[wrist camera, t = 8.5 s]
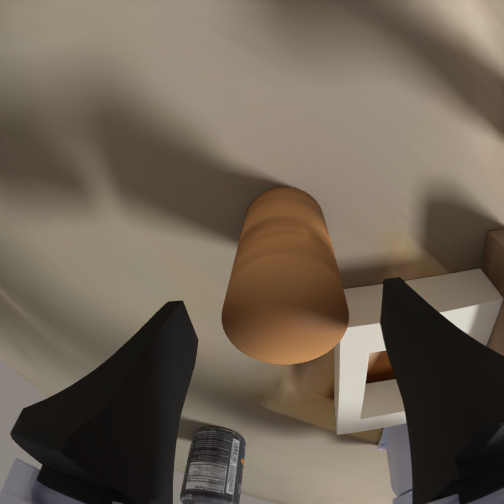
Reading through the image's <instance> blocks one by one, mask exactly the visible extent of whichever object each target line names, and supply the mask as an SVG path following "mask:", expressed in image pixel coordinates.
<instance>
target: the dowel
mask: <svg viewBox="0 0 504 504" xmlns="http://www.w3.org/2000/svg"><path fill="white" fill-rule="evenodd" d="M348 323H349V309H348V305H347V301H346V297H345V293H344V289H343V285H342V281H341V277H340V273H339V269H338V266H337V262H336V258H335V254H334V251H333V247H332V244H331V240H330V237H329V233H328V230H327V226H326V223H325V219H324V216H323V213H322V210H321V208H320V206H319V204H318V203H317V201H316V200H315V199H314V198H313V197H312V196H310V195H309V194H308V193H306V192H304V191H302V190H300V189H297V188H293V187H277V188H272V189H269V190H267V191H265V192H263V193H262V194H260V195H259V196H258V197H256V198H255V200H254V201H253V202H252V203H251V205H250V206H249V208H248V210H247V214H246V217H245V221H244V225H243V229H242V233H241V237H240V241H239V245H238V249H237V253H236V257H235V261H234V265H233V269H232V273H231V277H230V281H229V285H228V289H227V293H226V297H225V301H224V305H223V309H222V325H223V329H224V331H225V334H226V335H227V337H228V339H229V340H230V341H231V343H232V344H233V345H234V346H235V347H236V348H237V349H239V350H240V351H241V352H243V353H244V354H246V355H248V356H250V357H252V358H254V359H257V360H260V361H263V362H267V363H272V364H284V365H285V364H298V363H303V362H307V361H310V360H313V359H316V358H318V357H320V356H322V355H324V354H325V353H327V352H328V351H330V350H331V349H332V348H334V347H335V346H336V345H337V344H338V343H339V341H340V340H341V339H342V337H343V336H344V334H345V332H346V330H347V327H348Z"/></svg>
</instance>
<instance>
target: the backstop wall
mask: <svg viewBox="0 0 504 504" xmlns="http://www.w3.org/2000/svg"><path fill="white" fill-rule="evenodd" d="M481 270H482V271H483V272H484V274H485V275H486V276H487V278H488V279H489V280H490V281H491V283H492V284H493V285H494V286H495V288H496V289H497V290H498V292H499V293H500V294H501V296H502V297H503V301H502V304H501V307H500V310H499V313H498V316H497V319H496V322H495V325H494V327H493V330H492V332H491V335H490V338H489V340H488V343H487V345H486V346H487V347H488V348H490V349H492V350H494V351H496V352H497V353H499V354H501V355H503V356H504V229H502V230H494V231H488V234H487V240H486V245H485V251H484V256H483V261H482V266H481Z"/></svg>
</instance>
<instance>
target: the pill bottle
mask: <svg viewBox="0 0 504 504" xmlns="http://www.w3.org/2000/svg"><path fill="white" fill-rule="evenodd" d="M245 445H246V443H245V440H244V438H243V437H242V436H241V435H239V434H237V433H235V432H233V431H230V430H227V429H222V428H202V429H199V430H197V431H196V432H195V433H194V435H193V438H192V443H191V446H190V451H189V456H188V460H187V465H186V470H185V475H184V480H183V485H182V490H181V495H180V499H181V501H182V503H183V504H239V500H240V492H241V483H242V474H243V464H244V455H245Z"/></svg>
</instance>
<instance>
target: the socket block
mask: <svg viewBox="0 0 504 504" xmlns="http://www.w3.org/2000/svg"><path fill="white" fill-rule="evenodd" d="M405 282H406V283H407V284H408V285H409V286H410V287H411V288H412V289H413V290H414V291H415V292H417V293H418V294H419V295H420V296H421V297H422V298H423V299H424V300H425V301H427V302H428V303H429V304H430V305H431V306H432V307H433V308H435V309H436V310H437V311H438V312H439V313H440V314H442V315H443V316H444V317H445V318H447V319H448V320H449V321H450V322H452V323H453V324H454V325H455V326H457V327H458V328H459V329H461V330H462V331H464V332H465V333H467V334H468V335H469V336H471V337H472V338H474V339H475V340H477V341H478V342H480V343H482V344H483V345H485V346H486V345H487V343H488V340H489V338H490V335H491V332H492V330H493V327H494V325H495V322H496V319H497V316H498V313H499V310H500V307H501V304H502V301H503V297H502V296H501V294H500V293H499V292H498V290H497V289H496V288H495V286H494V285H493V284H492V283H491V281H490V280H489V279H488V278H487V276H486V275H485V274H484V272H483V271H482V270H481V269H480V268H479V269H473V270H468V271H462V272H456V273H450V274H444V275H438V276H432V277H426V278H419V279H413V280H406V281H405ZM344 293H345V297H346V301H347V305H348V309H349V323H348V327H347V330H346V332H345V334H344V336H343V337H342V339H341V340H340V341H339V343H338V344H337V345H336V346H335V347H334V407H335V418H336V430H337V435H340V434H348V433H355V432H362V431H368V430H374V429H380V428H386V427H391V426H396V425H401V424H406V423H407V422H406V416H405V410H404V405H403V401H402V397H401V394H400V391H399V387H398V384H397V381H396V379H392V380H386V381H380V382H374V383H368V384H366V376H367V368H368V359H369V353H372V352H379V351H385V350H386V348H385V344H384V340H383V335H382V330H381V326H380V317H381V306H382V293H383V284H379V285H371V286H364V287H356V288H348V289H344Z"/></svg>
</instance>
